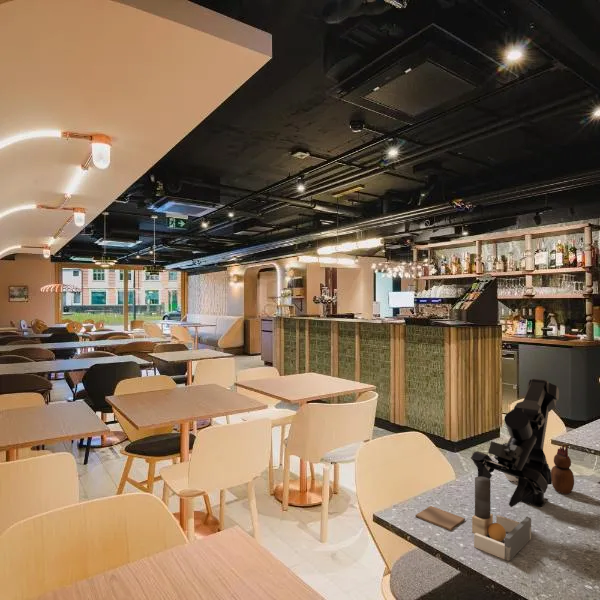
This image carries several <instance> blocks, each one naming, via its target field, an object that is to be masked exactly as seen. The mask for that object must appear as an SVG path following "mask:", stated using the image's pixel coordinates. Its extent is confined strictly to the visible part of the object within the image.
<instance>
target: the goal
mask: <svg viewBox="0 0 600 600" xmlns="http://www.w3.org/2000/svg"><path fill="white" fill-rule="evenodd" d="M495 518H496V519H495V521H496V522H495V523H498V524H500V525H502V526H503V527H504V529H505V531H506V533H508V534H506V536H505V539H504V543H503V542H502V541H496V540H493V539H492V538H491V537H488V536H483V535H480V534H478V533H475V534H474V533H473V542H474V543H473V547H474V548H476V549H477V550H481V551H482V552H485V553H488V554H490V555H493V556H495V557H498V558H500V559H503V560H505V561H506V562H510V561H512V559H513V558H514V557H515V556H516V555H517V554H518V553H519V552H520V551H521V550H522V549H523V548H524V547H525V545H527V544H528V542H529V541H530V540H532V518H531V517H529V516H526V517H525V518H524V519H522V521H516V520H514V519H510V518H507V517H505V516H502V515H499V514H498V515H496V517H495Z"/></svg>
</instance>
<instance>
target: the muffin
mask: <svg viewBox="0 0 600 600" xmlns="http://www.w3.org/2000/svg"><path fill="white" fill-rule="evenodd" d="M503 474H504V476H505V478H506V479H508V481H509V480H510V481H509V482H512V481H514V483H517V482H518V479H517V478H516V477H514V476H511V475H509V474H506V473H503ZM516 481H517V482H516Z"/></svg>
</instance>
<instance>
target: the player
mask: <svg viewBox="0 0 600 600" xmlns="http://www.w3.org/2000/svg"><path fill="white" fill-rule="evenodd" d="M493 517H494V515H493V513H491V478H490V479H488V478H486V477H478V476H475V477H474V515H472V517H471V521H472V522H471V524H472V525H471V527H472V528H471V533H472V534H473V535H474V534H475V533H478V534H480V535H483V536H486V537H488V536H489V534H488V528H489V526H490V525H491V524H492V523H493V522H494V518H493Z"/></svg>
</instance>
